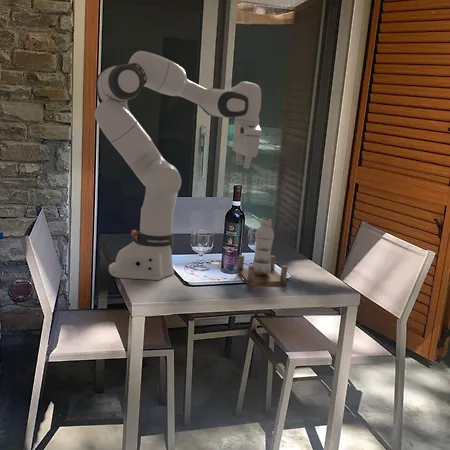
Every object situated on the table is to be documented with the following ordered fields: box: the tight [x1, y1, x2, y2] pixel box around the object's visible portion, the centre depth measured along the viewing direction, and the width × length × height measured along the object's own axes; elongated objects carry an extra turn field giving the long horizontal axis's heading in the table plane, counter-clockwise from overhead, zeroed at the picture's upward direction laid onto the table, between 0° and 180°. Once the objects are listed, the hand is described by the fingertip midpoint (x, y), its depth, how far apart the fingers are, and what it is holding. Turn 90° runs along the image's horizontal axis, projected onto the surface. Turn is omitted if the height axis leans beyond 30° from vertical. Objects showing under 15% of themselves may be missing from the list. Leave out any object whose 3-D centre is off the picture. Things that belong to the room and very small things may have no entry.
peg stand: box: [236, 254, 289, 287], centre depth 203 cm, size 14×14×6 cm
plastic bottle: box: [251, 218, 275, 275], centre depth 201 cm, size 6×7×20 cm
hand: (242, 166), depth 210 cm, fingers open, 8 cm apart
